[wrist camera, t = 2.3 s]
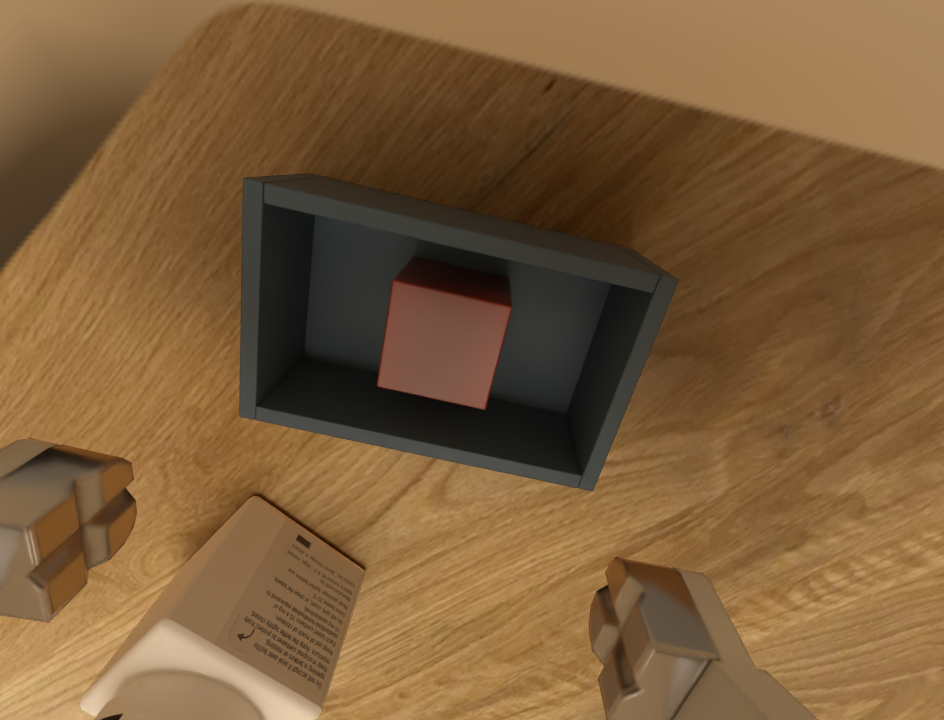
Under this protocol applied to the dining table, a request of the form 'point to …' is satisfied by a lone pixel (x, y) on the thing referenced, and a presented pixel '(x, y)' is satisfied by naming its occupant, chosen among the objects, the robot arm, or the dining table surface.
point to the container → (237, 629)
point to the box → (365, 312)
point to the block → (444, 332)
